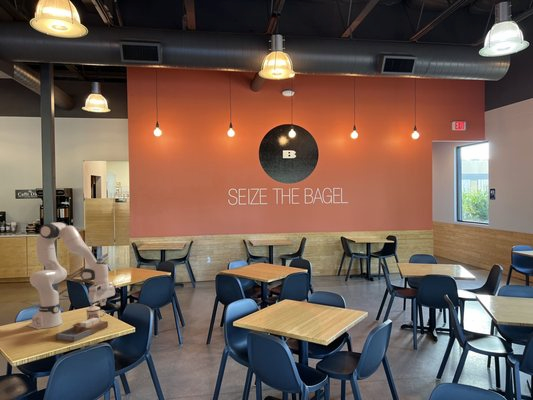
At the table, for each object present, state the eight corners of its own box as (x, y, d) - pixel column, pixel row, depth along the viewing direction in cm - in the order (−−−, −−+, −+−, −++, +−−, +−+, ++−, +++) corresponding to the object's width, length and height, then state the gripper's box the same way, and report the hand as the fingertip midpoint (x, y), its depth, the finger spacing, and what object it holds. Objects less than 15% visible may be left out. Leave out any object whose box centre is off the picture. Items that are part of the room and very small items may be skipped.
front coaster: (80, 326, 241) (80, 322, 241) (86, 324, 246) (86, 320, 246) (86, 327, 239) (86, 323, 239) (92, 324, 244) (92, 321, 244)
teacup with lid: (86, 324, 257) (86, 307, 257) (86, 320, 266) (86, 304, 266) (105, 321, 263) (104, 305, 263) (104, 317, 271) (104, 302, 271)
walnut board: (73, 332, 242) (73, 326, 242) (91, 325, 255) (90, 319, 255) (91, 334, 237) (91, 328, 237) (107, 327, 250) (107, 321, 250)
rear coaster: (87, 323, 246) (87, 319, 246) (93, 321, 251) (93, 317, 251) (93, 324, 245) (93, 320, 245) (99, 322, 249) (99, 318, 249)
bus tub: (56, 339, 230) (55, 333, 230) (73, 332, 242) (73, 326, 242) (73, 342, 225) (73, 336, 225) (91, 334, 237) (91, 329, 237)
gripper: (109, 281, 266) (110, 301, 266) (86, 288, 247) (87, 309, 247) (116, 282, 264) (117, 301, 264) (93, 289, 245) (94, 309, 245)
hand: (102, 305), depth 255 cm, fingers closed
